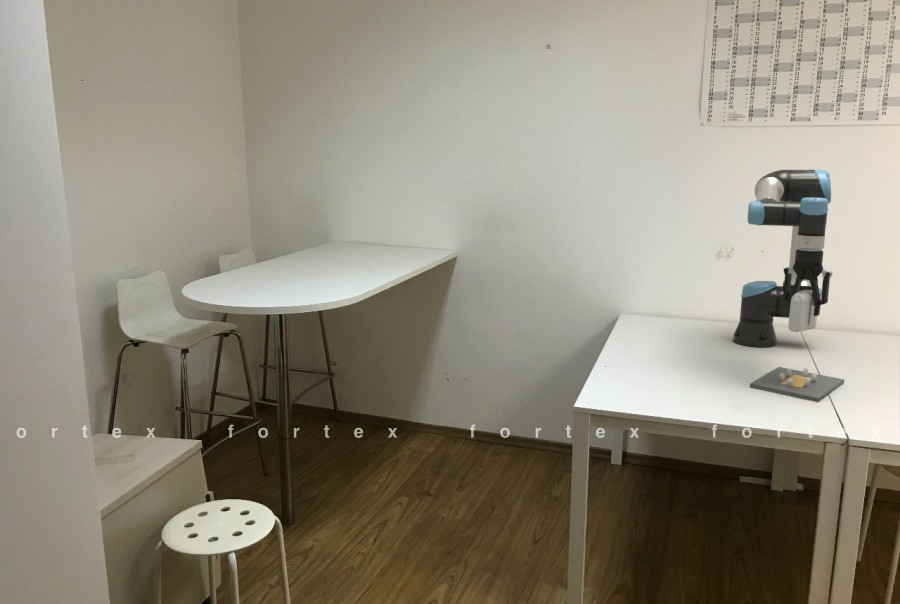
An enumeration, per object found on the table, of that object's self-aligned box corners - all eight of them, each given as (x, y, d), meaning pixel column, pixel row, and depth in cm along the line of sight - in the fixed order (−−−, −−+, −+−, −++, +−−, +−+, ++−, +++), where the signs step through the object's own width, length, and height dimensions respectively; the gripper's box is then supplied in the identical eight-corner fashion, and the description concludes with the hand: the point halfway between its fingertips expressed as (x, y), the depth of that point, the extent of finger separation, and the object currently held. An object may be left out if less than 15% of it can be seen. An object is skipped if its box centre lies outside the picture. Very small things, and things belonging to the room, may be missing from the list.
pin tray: (749, 387, 226) (750, 375, 226) (778, 370, 243) (779, 359, 243) (818, 402, 213) (819, 390, 212) (844, 383, 230) (845, 371, 229)
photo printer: (804, 326, 230) (808, 287, 228) (817, 328, 227) (821, 289, 224) (785, 330, 225) (789, 291, 222) (798, 333, 221) (802, 293, 219)
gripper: (774, 247, 224) (768, 321, 229) (838, 253, 212) (829, 331, 216) (783, 245, 229) (777, 318, 234) (846, 250, 217) (837, 327, 222)
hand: (802, 324), depth 225 cm, fingers closed on photo printer, 5 cm apart
